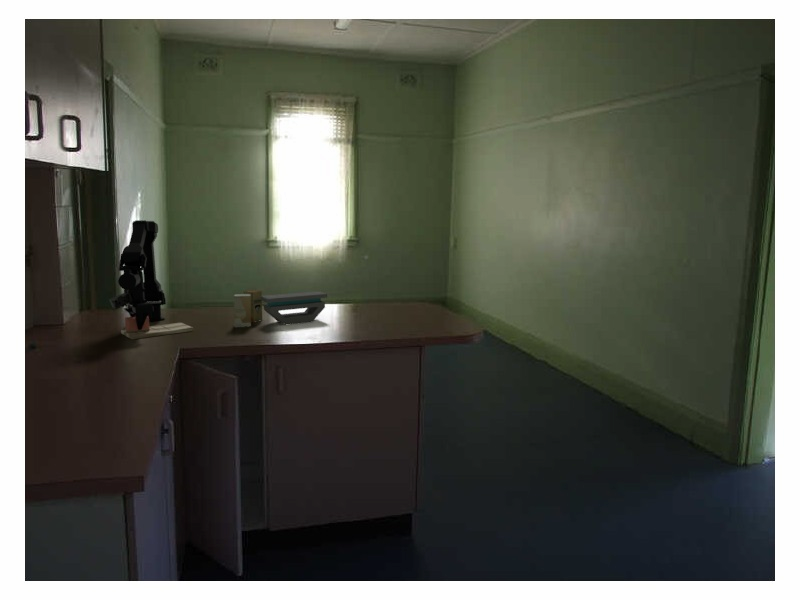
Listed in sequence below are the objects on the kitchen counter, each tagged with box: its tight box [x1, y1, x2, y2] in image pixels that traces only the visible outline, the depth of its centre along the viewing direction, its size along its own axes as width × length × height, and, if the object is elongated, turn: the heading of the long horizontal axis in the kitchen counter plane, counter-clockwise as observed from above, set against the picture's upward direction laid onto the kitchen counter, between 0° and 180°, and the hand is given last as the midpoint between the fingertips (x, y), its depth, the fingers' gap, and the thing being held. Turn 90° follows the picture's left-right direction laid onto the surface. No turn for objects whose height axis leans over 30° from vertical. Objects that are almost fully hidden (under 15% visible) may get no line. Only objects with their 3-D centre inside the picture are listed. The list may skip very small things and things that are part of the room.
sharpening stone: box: [261, 290, 328, 326], centre depth 243 cm, size 25×8×11 cm, turn 122°
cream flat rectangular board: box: [120, 322, 194, 340], centre depth 223 cm, size 12×22×1 cm, turn 131°
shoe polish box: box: [243, 289, 263, 323], centre depth 244 cm, size 5×5×12 cm
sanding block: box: [124, 316, 150, 333], centre depth 218 cm, size 4×7×5 cm, turn 130°
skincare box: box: [233, 293, 252, 328], centre depth 234 cm, size 6×4×12 cm
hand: (137, 328), depth 219 cm, fingers closed on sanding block, 4 cm apart
